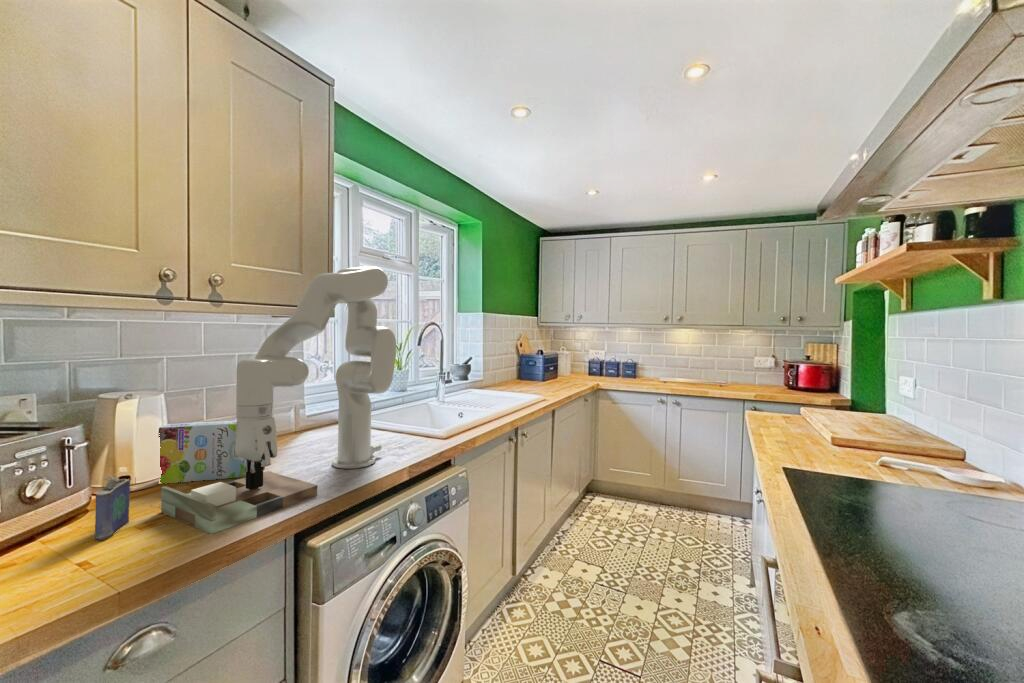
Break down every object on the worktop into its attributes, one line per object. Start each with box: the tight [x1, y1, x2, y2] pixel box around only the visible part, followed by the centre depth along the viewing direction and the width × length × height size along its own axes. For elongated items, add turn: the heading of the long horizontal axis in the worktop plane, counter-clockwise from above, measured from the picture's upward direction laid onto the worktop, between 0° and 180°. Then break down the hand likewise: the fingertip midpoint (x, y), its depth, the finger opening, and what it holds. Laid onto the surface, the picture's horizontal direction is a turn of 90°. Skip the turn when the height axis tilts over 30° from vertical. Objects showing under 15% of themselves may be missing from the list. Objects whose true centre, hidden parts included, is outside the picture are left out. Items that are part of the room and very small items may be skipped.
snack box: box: [158, 420, 248, 485], centre depth 116 cm, size 21×6×15 cm, turn 111°
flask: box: [94, 476, 131, 542], centre depth 85 cm, size 9×3×11 cm, turn 20°
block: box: [190, 481, 236, 506], centre depth 94 cm, size 6×6×3 cm
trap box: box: [160, 470, 318, 535], centre depth 99 cm, size 24×20×6 cm
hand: (254, 487), depth 102 cm, fingers closed
